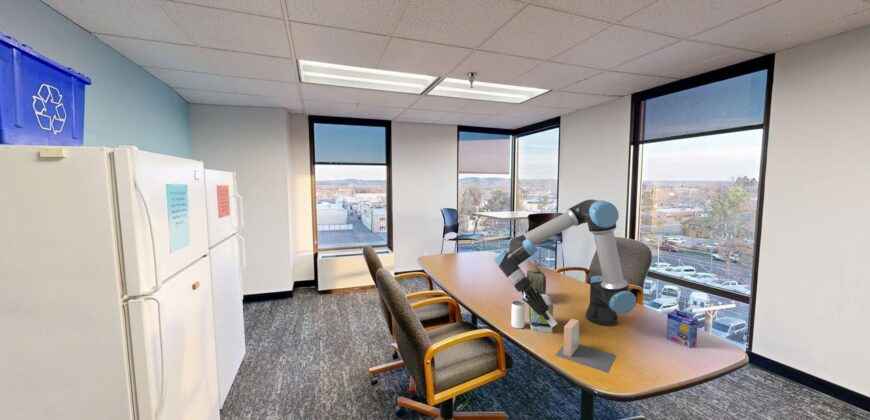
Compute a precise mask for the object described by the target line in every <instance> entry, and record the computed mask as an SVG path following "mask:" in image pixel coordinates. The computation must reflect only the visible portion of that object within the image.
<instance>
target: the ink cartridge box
mask: <svg viewBox="0 0 870 420" xmlns="http://www.w3.org/2000/svg"><path fill="white" fill-rule="evenodd" d="M698 321H699V319H698V318H696V317H692V316H689V315H687V314H686V312H682V311H680V310H676V311H671V312H668V313H667V322H666V339H667V340H669V341H672V342H674V343H677V344H680V345H682V346H684V347H687V348H689V349H690V348H693V347H696V346H697V341H698V339H697V338H698V323H699V322H698Z"/></svg>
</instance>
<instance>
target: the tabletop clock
mask: <svg viewBox="0 0 870 420" xmlns="http://www.w3.org/2000/svg"><path fill="white" fill-rule="evenodd" d="M526 277H528V279H529V280H530V281H531V284H530V285H531V286H532V287H533V289H538V291H539V293H540V294H547V277H546V274H545V273H544V271H541V270H540V268H539V267H538V261H537V260H536V259H535V260H534V267H533V268H532V269H531V270H527V271H526Z"/></svg>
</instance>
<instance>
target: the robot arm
mask: <svg viewBox="0 0 870 420" xmlns="http://www.w3.org/2000/svg"><path fill="white" fill-rule="evenodd" d="M618 220H619V211H618V208H617V207H616V206H615V204H613V203H611V202H609V201H606V200H598V199H587V200H583V201H580V202H578V203H577V204H575V205H574V206H573V205H572V206H571V207H569V208H567V209H566V211H565V212H564V213H562V214H560V215H558V216H557V217H554V218H552V219H551V220H549V221H546V222H545V223H543V224H541V225H539V226H537V227H534V228H533V229H531V230H529V231H528V232H527V231H526V232H525V233H523V234H522V235H518V236H517V237H516V236H514V237H511V238H510V239H509V240H508V243H507V244H508V249H509V251H507V250H506V249H505V250H502V251H501V252H499V253H498V254H497V255H495V257H494V262H495V263H496V264H497V267H499V269H500V270H501V271H502V274H504V275H505V276H506V278H507V279H508V281H509V282H510V283H511V285H514V288H515V289H516V291H517V292H518V293H521V295H522V296H523V297H522V301H524V302H525V303H526V304H527V305H528V306H530V307H531V308H532V309H533V310H534V311H535V312H536V313H537V314H538V315H543V317H544V318H545V319H546V321H547V322H548V323H549V324H550V326H551V327H552V328H553V327H555V326H557V325H558V322H557V321H556V319H555V317H554V316H553V317H552V316H551V314H550V313H549V312H548V311H547V310H549V308H548V306H547V304H546V303H545V301H544V300H543V298H542V296H541V295H540V293H539V291H538V289H533V287H532V286H531V285H530V284H531V281H530V280H529V279H528V277H527V276H526V273H525V272H524V271H523V270H522V268H521V267H520V266H519V265H521V264H522V263H523V262H525V261H526V260H527V259H529V258H531V257H532V256H534V255H535V254H536V253H537V251H538V249H537V247H536V245H538V244H539V243H542V242H544V241H546V240H548V239H550V238H551V237H554V236H556V235H558V234H559V233H562V232H563V231H565V230H568V229H569V228H571V227H573V226H575V227H579V225H583V224H587V226H588V231H589V232H590V233H591V234H593V238H594V244H595V247H596V252H597V257H598V262H599V266H600V272H601V275H592V276H591V277H590V282H589V284H590V285H589V304H588V307H587V308H586V312H585V318H586V320H587V321H589V322H591V323H593V324H596V325H600V326H606V327H607V326H616V325H618V324H619V317H618V314H619V315H626V314H629V313H630V312H632V311H633V309H634V308H635V307H636V305H637V297H636V296H635V294H634V293H633V292H632V291H630V286H629V281H627V280H626V279H624V276H623V275H624V274H623V270H622V266H621V260H620V256H619V250H618V247H617V241H616V236H615V232H614V231H615V230H616V228H617V221H618Z"/></svg>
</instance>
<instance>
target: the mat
mask: <svg viewBox="0 0 870 420" xmlns="http://www.w3.org/2000/svg"><path fill="white" fill-rule="evenodd" d="M563 348H564V344H563V345H562V346H561V347H560V348H559V350H558V351H557V352H556V353H555V354H554V355H555V357H559V358H562V359H565V360H567V361H571V362H573V363H577V364H578V365H583V366H586V367H589V368H592V369H595V370H598V371H601V372H604V373H606V374H609V372H610V370H611V368H612V366H613V364H614V362H615V359H616V357H617V356H618V355H617V354H615V353H611V352H607V351H604V350H600V349H597V348H594V347H591V346H587V345H583V344H580V343H578V348H577V349H576V351H575V352H574V353H573V355H572V356H571V357H570V356H567V355H564V354H563Z"/></svg>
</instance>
